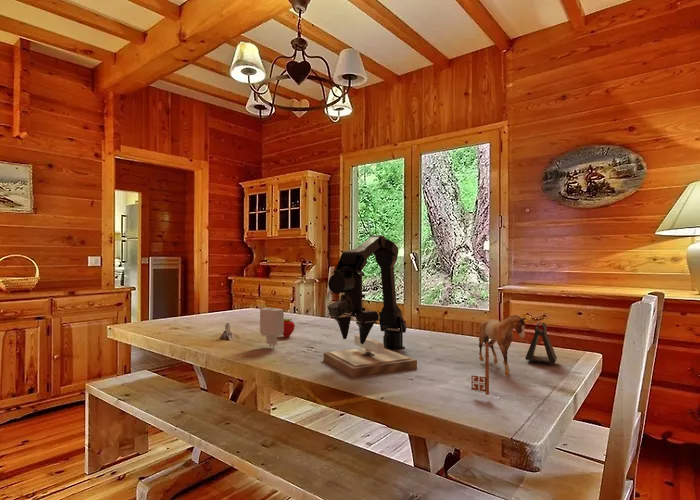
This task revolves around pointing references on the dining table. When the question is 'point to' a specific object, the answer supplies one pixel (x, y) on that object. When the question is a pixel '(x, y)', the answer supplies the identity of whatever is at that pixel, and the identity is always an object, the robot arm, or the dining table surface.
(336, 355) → the brown square tray
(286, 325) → the strawberry
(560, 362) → the dining table surface
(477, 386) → the key
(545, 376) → the dining table surface
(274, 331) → the charger
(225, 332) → the grey stone figurine
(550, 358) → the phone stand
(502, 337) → the horse figurine
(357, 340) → the T-key
